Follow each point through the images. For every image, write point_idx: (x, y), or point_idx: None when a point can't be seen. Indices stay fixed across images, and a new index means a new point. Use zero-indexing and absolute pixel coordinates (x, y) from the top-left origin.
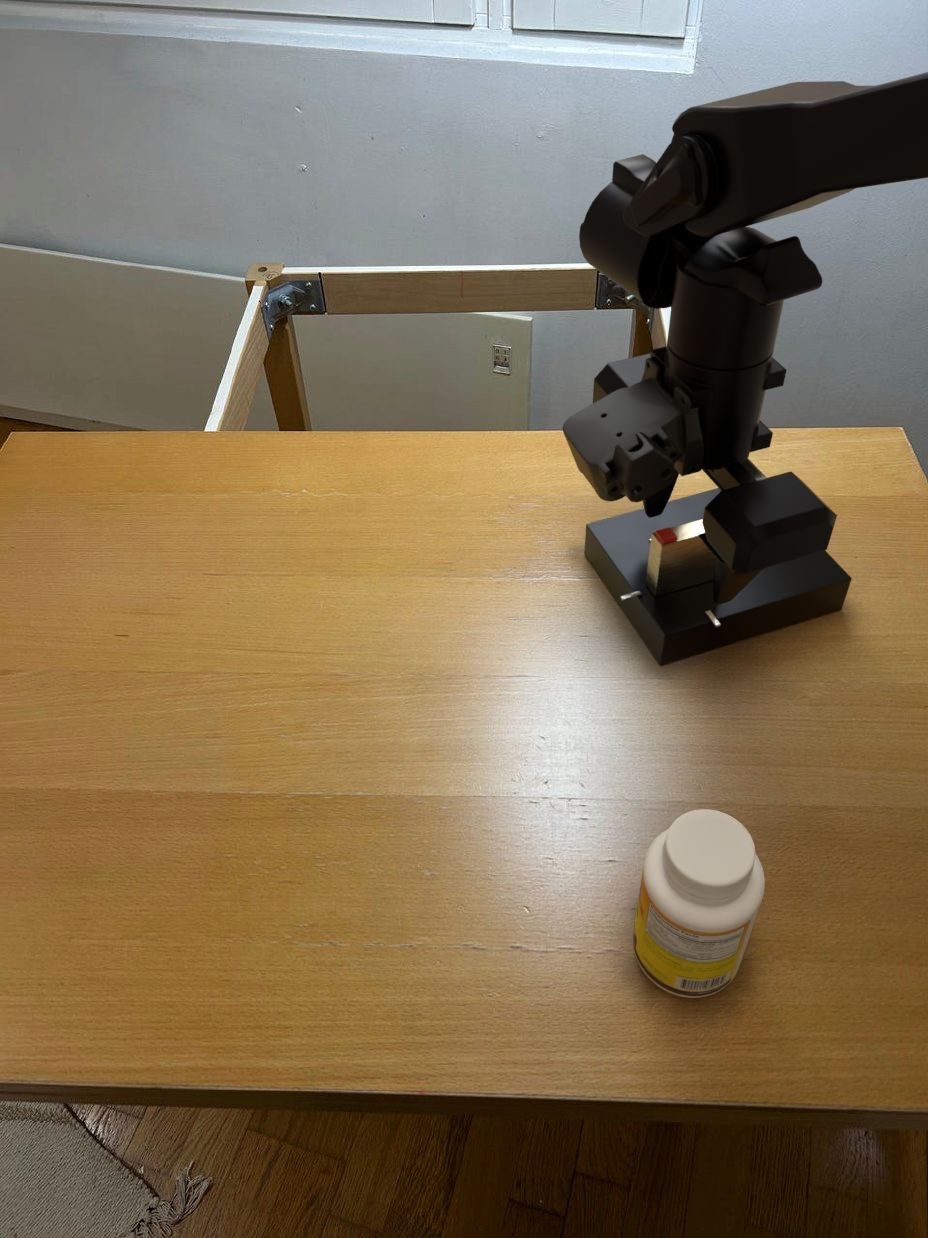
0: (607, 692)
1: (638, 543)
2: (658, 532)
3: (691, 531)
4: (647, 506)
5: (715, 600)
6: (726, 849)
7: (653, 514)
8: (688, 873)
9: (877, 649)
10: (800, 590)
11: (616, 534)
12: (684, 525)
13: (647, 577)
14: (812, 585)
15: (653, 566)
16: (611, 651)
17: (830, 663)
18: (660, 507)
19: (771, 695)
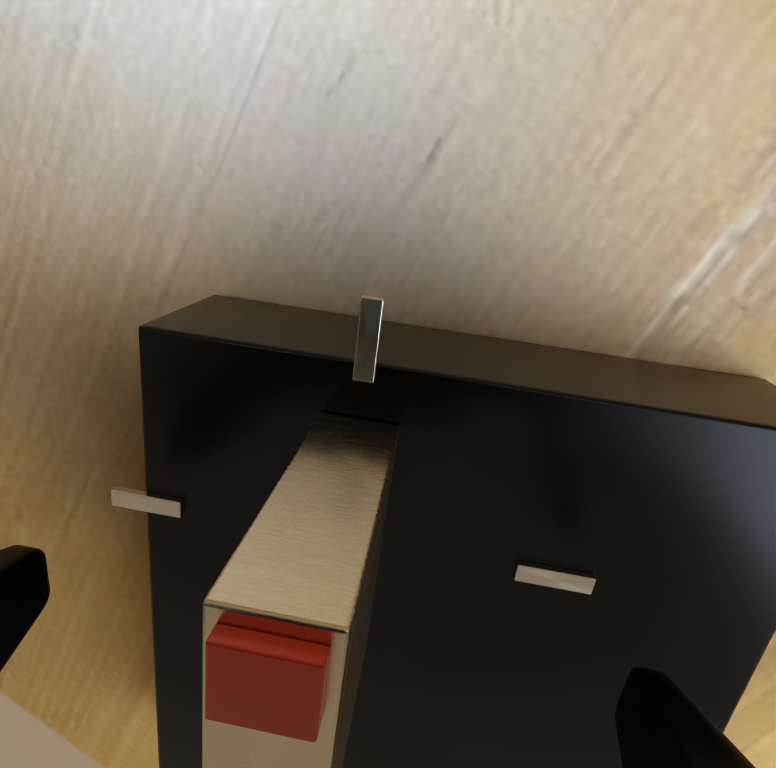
0: (182, 80)
1: (608, 536)
2: (297, 669)
3: None
4: (666, 726)
5: (3, 553)
6: None
7: (629, 694)
8: None
9: (94, 699)
10: (168, 736)
11: (712, 503)
12: None
13: (382, 442)
14: (174, 765)
15: (326, 485)
16: (330, 198)
17: (88, 615)
18: (630, 750)
19: (41, 465)
